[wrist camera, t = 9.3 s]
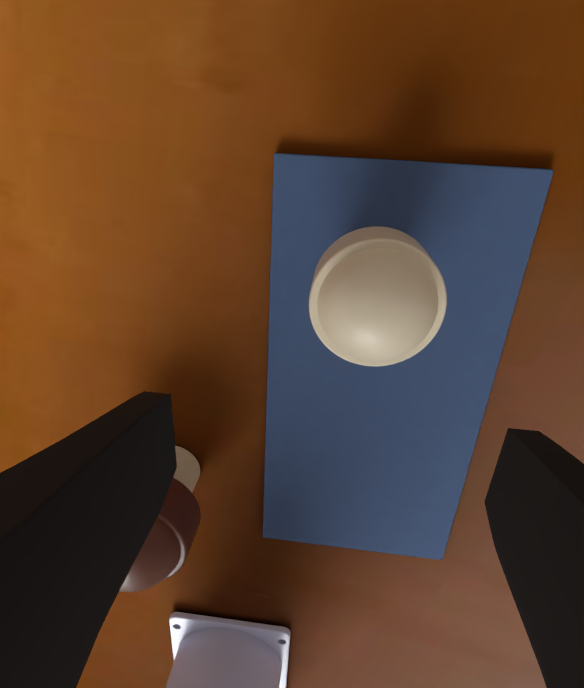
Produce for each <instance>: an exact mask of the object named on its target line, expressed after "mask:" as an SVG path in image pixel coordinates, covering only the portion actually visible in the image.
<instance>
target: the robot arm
mask: <svg viewBox="0 0 584 688" xmlns="http://www.w3.org/2000/svg"><path fill="white" fill-rule="evenodd" d="M176 468H177V461H176V450H175V438H174V426H173V414H172V403H171V394H165V393H155V392H145V391H144V392H142V393H140V394H138V395H136V396H134V397H133V398H131V399H129V400H127V401H126V402H124V403H122V404H121V405H119V406H117V407H116V408H114V409H112V410H111V411H109V412H107V413H106V414H104V415H102V416H101V417H99V418H98V419H96V420H94V421H92V422H91V423H89V424H87V425H86V426H84V427H82V428H81V429H79V430H77V431H76V432H74V433H72V434H71V435H69V436H67V437H66V438H64V439H62V440H60V441H59V442H57V443H55V444H53V445H51V446H50V447H48V448H46V449H44V450H42V451H40V452H39V453H37V454H35V455H33V456H31V457H29V458H28V459H26V460H24V461H22V462H20V463H18V464H17V465H15V466H13V467H11V468H9V469H7V470H5V471H3V472H1V473H0V688H76V686H77V684H78V681H79V679H80V677H81V674H82V672H83V669H84V667H85V664H86V662H87V660H88V657H89V655H90V652H91V650H92V648H93V645H94V643H95V640H96V638H97V635H98V633H99V631H100V629H101V627H102V624H103V622H104V620H105V618H106V616H107V614H108V612H109V610H110V608H111V606H112V604H113V602H114V600H115V598H116V596H117V594H118V592H119V590H120V588H121V586H122V585H123V583H124V581H125V579H126V577H127V575H128V573H129V571H130V569H131V567H132V565H133V563H134V562H135V560H136V558H137V556H138V554H139V552H140V550H141V548H142V546H143V544H144V542H145V540H146V538H147V537H148V535H149V533H150V531H151V529H152V527H153V525H154V523H155V521H156V519H157V517H158V515H159V513H160V511H161V509H162V507H163V504H164V501H165V499H166V496H167V493H168V491H169V488H170V485H171V482H172V480H173V477H174V474H175V471H176ZM485 506H486V511H487V515H488V520H489V525H490V529H491V533H492V537H493V541H494V545H495V549H496V552H497V554H498V557H499V560H500V563H501V566H502V568H503V571H504V574H505V576H506V579H507V582H508V584H509V587H510V590H511V592H512V595H513V598H514V600H515V603H516V606H517V608H518V611H519V613H520V616H521V619H522V621H523V624H524V627H525V629H526V632H527V635H528V637H529V640H530V642H531V645H532V648H533V650H534V653H535V656H536V658H537V661H538V664H539V666H540V669H541V672H542V675H543V678H544V681H545V684H546V687H547V688H584V464H583V463H582V462H580V461H579V460H578V459H577V458H575V457H574V456H573V455H571V454H570V453H569V452H567V451H566V450H565V449H563V448H562V447H561V446H559V445H558V444H557V443H555V442H554V441H552V440H551V439H550V438H548V437H547V436H545V435H544V434H542V433H541V432H539V431H531V430H521V429H511V428H508V430H507V433H506V436H505V440H504V443H503V446H502V449H501V452H500V455H499V458H498V461H497V465H496V468H495V471H494V474H493V477H492V480H491V483H490V486H489V490H488V493H487V496H486V499H485ZM169 624H170V632H171V641H172V650H173V659H174V663H173V666H172V669H171V672H170V675H169V678H168V681H167V684H166V687H165V688H286V684H287V671H288V659H289V646H290V630H289V629H288V628H286V627H283V626H276V625H269V624H262V623H254V622H247V621H240V620H233V619H226V618H219V617H212V616H205V615H198V614H191V613H183V612H173V613H172V614H171V616H170V618H169Z"/></svg>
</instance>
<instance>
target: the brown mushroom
mask: <svg viewBox="0 0 584 688" xmlns="http://www.w3.org/2000/svg"><path fill="white" fill-rule="evenodd" d="M175 450H176V461H177V468H176V471H175V474H174V477H173V480H172V482H171V485H170V488H169V491H168V493H167V496H166V499H165V501H164V504H163V507H162V509H161V511H160V513H159V515H158V517H157V519H156V521H155V523H154V525H153V527H152V529H151V531H150V533H149V535H148V537H147V538H146V540H145V542H144V544H143V546H142V548H141V550H140V552H139V554H138V556H137V558H136V560H135V562H134V563H133V565H132V567H131V569H130V571H129V573H128V575H127V577H126V579H125V581H124V583H123V585H122V586H121V588H120V590H119V591H121V592H136V591H141V590H145V589H148V588H150V587H153V586H155V585H156V584H158V583H160V582H161V581H162V580H164V579H166V578H169V577H171V576H173V575H174V574H175V573H177V572H178V571H179V570H180V569H181V568H182V566H183V565H184V563H185V561H186V558H187V556H188V553H189V550H190V548H191V545H192V542H193V540H194V537H195V534H196V532H197V529H198V526H199V524H200V518H201V514H200V508H199V504H198V502H197V500H196V498H195V496H194V495H193V494H192V493H193V491H194V488H195V486H196V483H197V481H198V479H199V476H200V466H199V463H198V461H197V459H196V458H195V457H194V455H193V454H192V453H190V452H189V451H188V450H186V449H184V448H182V447H179V446H176V445H175Z"/></svg>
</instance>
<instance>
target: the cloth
mask: <svg viewBox="0 0 584 688" xmlns="http://www.w3.org/2000/svg"><path fill="white" fill-rule="evenodd" d="M553 172H554V170H553V169H542V168H525V167H508V166H491V165H474V164H457V163H440V162H423V161H406V160H389V159H372V158H355V157H338V156H321V155H303V154H286V153H274V165H273V199H272V233H271V267H270V301H269V335H268V370H267V404H266V438H265V472H264V506H263V538H271V539H279V540H287V541H295V542H303V543H311V544H319V545H327V546H335V547H343V548H351V549H359V550H367V551H374V552H382V553H390V554H398V555H406V556H414V557H422V558H430V559H438V560H442V559H443V555H444V552H445V548H446V545H447V542H448V538H449V535H450V531H451V528H452V524H453V521H454V517H455V514H456V510H457V507H458V503H459V500H460V496H461V493H462V489H463V486H464V482H465V479H466V475H467V472H468V468H469V465H470V461H471V458H472V454H473V451H474V447H475V444H476V440H477V437H478V434H479V430H480V427H481V423H482V420H483V416H484V413H485V409H486V406H487V402H488V399H489V395H490V392H491V388H492V385H493V381H494V378H495V374H496V371H497V367H498V364H499V360H500V357H501V353H502V350H503V346H504V343H505V339H506V336H507V332H508V329H509V325H510V322H511V319H512V315H513V312H514V308H515V305H516V301H517V298H518V294H519V291H520V287H521V284H522V280H523V277H524V273H525V270H526V266H527V263H528V259H529V256H530V252H531V249H532V245H533V242H534V238H535V235H536V231H537V228H538V224H539V221H540V217H541V214H542V211H543V207H544V204H545V200H546V197H547V193H548V190H549V186H550V183H551V179H552V176H553ZM365 227H388V228H393V229H396V230H399V231H401V232H404V233H406V234H408V235H409V236H411V237H412V238H414V239H415V240H416V241H417V242H419V243H420V245H421V246H422V247H423V248H424V249H425V250H426V252H427V253H428V255H429V256H430V257H431V259H432V260H433V262H434V263H435V265H436V266H437V267H438V269H439V271H440V273H441V275H442V277H443V280H444V283H445V286H446V293H447V306H446V313H445V316H444V319H443V322H442V324H441V327H440V329H439V330H438V332H437V334H436V335H435V336H434V338H433V339H432V340H431V341H430V343H429V344H428V345H427V346H426V347H425V348H424V349H422V350H421V351H420V352H418V353H417V354H415V355H414V356H412V357H410V358H408V359H406V360H404V361H402V362H399V363H395V364H392V365H386V366H364V365H359V364H355V363H352V362H349V361H347V360H344V359H343V358H341V357H339V356H337V355H336V354H334V353H333V352H332V351H330V350H329V349H328V348H327V347H326V346H325V345H324V344H323V342H322V341H321V340H320V339H319V337H318V335H317V334H316V332H315V330H314V328H313V325H312V322H311V319H310V313H309V296H310V290H311V286H312V281H313V277H314V273H315V269H316V267H317V264H318V262H319V260H320V258H321V257H322V255H323V254H324V252H325V251H326V250H327V249H328V247H330V246H331V245H332V244H333V243H334V242H335V241H336V240H338V239H339V238H340V237H342V236H344V235H345V234H347V233H349V232H352V231H354V230H357V229H361V228H365Z"/></svg>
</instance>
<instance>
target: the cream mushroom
mask: <svg viewBox="0 0 584 688" xmlns="http://www.w3.org/2000/svg"><path fill="white" fill-rule="evenodd" d="M446 306H447V293H446V286H445V283H444V280H443V277H442V275H441V273H440V271H439V269H438V267H437V266H436V265H435V263H434V262H433V260H432V259H431V257H430V256H429V255H428V253H427V252H426V250H425V249H424V248H423V247H422V246H421V245H420V243H419V242H417V241H416V240H415V239H414V238H412V237H411V236H409V235H408V234H406V233H404V232H401V231H399V230H396V229H393V228H388V227H365V228H361V229H357V230H354V231H352V232H349V233H347V234H345V235H344V236H342V237H340V238H339V239H338V240H336V241H335V242H334V243H333V244H332V245H331V246H330V247H328V249H327V250H326V251H325V252H324V254H323V255H322V257H321V258H320V260H319V262H318V264H317V267H316V269H315V273H314V277H313V281H312V286H311V290H310V296H309V313H310V319H311V322H312V325H313V328H314V330H315V332H316V334H317V335H318V337H319V339H320V340H321V341H322V342H323V344H324V345H325V346H326V347H327V348H328V349H329V350H330V351H332V352H333V353H334V354H336V355H337V356H339V357H341V358H343V359H344V360H347V361H349V362H352V363H355V364H359V365H364V366H386V365H392V364H395V363H399V362H402V361H404V360H406V359H408V358H410V357H412V356H414V355H415V354H417V353H418V352H420V351H421V350H422V349H424V348H425V347H426V346H427V345H428V344H429V343H430V341H431V340H432V339H433V338H434V336H435V335H436V334H437V332H438V330H439V329H440V327H441V324H442V322H443V319H444V316H445V313H446Z"/></svg>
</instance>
